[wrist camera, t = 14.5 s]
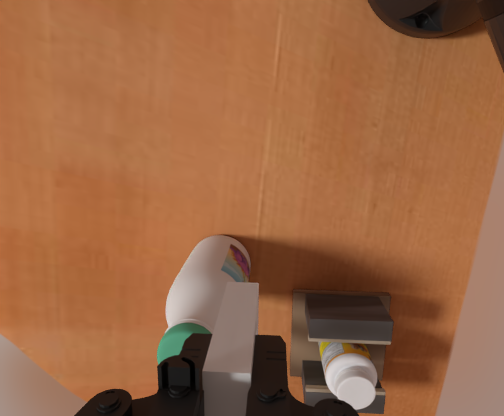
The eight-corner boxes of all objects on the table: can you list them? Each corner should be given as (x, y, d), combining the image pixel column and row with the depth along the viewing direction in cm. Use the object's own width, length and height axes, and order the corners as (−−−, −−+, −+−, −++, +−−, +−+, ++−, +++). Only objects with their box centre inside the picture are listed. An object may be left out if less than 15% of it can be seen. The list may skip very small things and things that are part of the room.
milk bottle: (188, 285, 49) (132, 395, 30) (193, 229, 47) (137, 306, 28) (247, 294, 49) (229, 410, 29) (254, 237, 47) (241, 321, 28)
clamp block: (293, 289, 48) (296, 317, 42) (388, 292, 48) (407, 321, 41) (289, 371, 51) (292, 410, 44) (379, 375, 50) (396, 415, 44)
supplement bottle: (369, 341, 48) (395, 399, 38) (333, 364, 49) (349, 426, 39) (344, 309, 47) (363, 360, 38) (308, 333, 48) (317, 388, 39)
